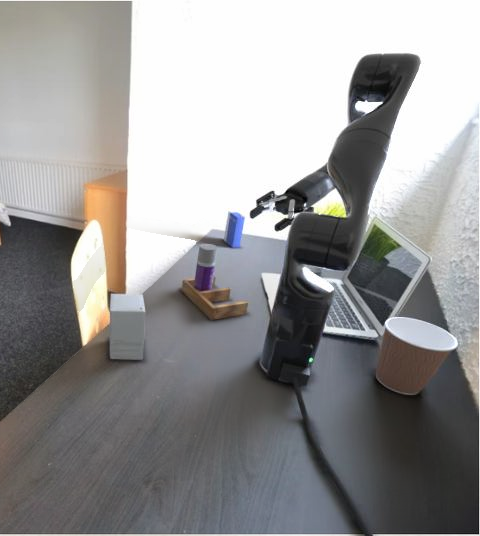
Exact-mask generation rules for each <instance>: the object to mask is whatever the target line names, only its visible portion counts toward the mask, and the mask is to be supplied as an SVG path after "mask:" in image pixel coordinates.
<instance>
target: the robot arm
mask: <svg viewBox="0 0 480 536" xmlns="http://www.w3.org/2000/svg"><path fill="white" fill-rule="evenodd" d="M421 67H422V59H421V57H420V56H419V55H418V54H416V53H415V54H414V53H411V52H410V53H409V52H402V53H401V52H393V53H392V52H391V53H389V52H388V53H370V54H365V55H363V56H362V57H361V58H360V59H359V60H358V61H357V63H356V65H355V67H354V69H353V72H352V74H351V77H350V81H349V85H348V89H347V101H346V102H347V105H346V108H347V109H346V112H347V114H346V115H347V116H346V117H347V118H346V119H347V120H346V121H347V123H346V124H347V125H346V126H345V127H344V128H343V129H342V130H341V131H340V133H339V134H338V135H337V137H336V138H335V140H334V143H333V145H332V148H331V150H330V153H329V156H328V158H327V162H325V163H324V164H323V165H322V166H321V167H319V168H317V169H316V170H315V171H313V172H311V173H309V174H307V175H305V176H304V177H303V178H301V179H299V180H298V181H297V182H295V183H294V184H292V185H291V186H289V187H288V188H287V189H286V190H285V191H284V192H283V193H281V194H276V191H275V190H270V191H269V192H267V193H265V194H263V195H262V196H260V197H259V198H257V199H256V200H255V206H256V207H254V208H253V209H251V210H250V211H249V218H250V219H251V220H254V219H255V218H257V217H258V216H259V215H261V214H263V213H264V212H270V213H271V212H277V213H280V214H282V215H283V216H287V217H284V218H283V219H281V220H279V221H278V222H277V223H275V224H274V231H275V232H277V233H278V232H281V231H284V230H285V229H286V228H287V227H289V230H288V233H287V236H286V237H287V238H286V243H285V250H284V255H283V260H282V266H281V270H280V275H279V279H278V285H277V288H276V292H275V297H274V300H273V303H272V304H273V305H272V309H271V313H270V317H269V321H268V326H267V329H266V334H265V338H264V342H263V346H262V347H263V348H262V351H261V356H260V357H259V361H258V363H259V364H258V365H259V367H260V369H261V370H262V371H263V373H264V374H266V378H267V379H270V380H274V381H278V382H282V383H285V384H288V385H293V389H294V394H295V397H296V400H297V404H298V407H299V410H300V414H301V416H302V420H303V423H304V426H305V429H306V432H307V435H308V437H309V440H310V442H311V445H312V447H313V449H314V451H315V453H316V456H317V457H318V459H319V460H320V462H321V463H320V464H321V465H322V466H323V467H324V469H325V472H327V474H328V476H329V478H330V479H331V481H332V482H333V484H334V486H335V487H336V488H337V490H338V492H339V494H340V496H341V498H342V499H343V501H344V502H345V504H346V506H347V507H348V509H349V511H350V513H351V514H352V515H353V519H355V521H356V523H357V525H358V526H359V528H360V530H361V532H362V534H363V535H364V536H374V534H373V533H372V530H371V529H370V527H369V526H368V524H367V523H366V521H365V519H364V517H363V516H362V514H361V512H360V510H359V509H358V507H357V505H356V503H355V502H354V501H353V499H352V498H351V495H350V494H349V492H348V491H347V489H346V487H345V485H344V484H343V482H342V481H341V479H340V478H339V476H338V475H337V473H336V472H335V470H334V468H333V467H332V465H331V464H330V462H329V461H328V459H327V457H326V455H325V454H324V451H323V450H322V447H321V446H320V444H319V442H318V439H317V436H316V434H315V432H314V429H313V426H312V423H311V419H310V417H309V414H308V411H307V407H306V404H305V400H304V398H303V394H302V390H301V387H302V386H304V387H307V386H308V383H309V381H310V377H311V374H312V373H311V372H312V369H313V367H314V366H313V365H314V362H315V359H316V356H317V353H318V349H319V346H320V343H321V340H322V337H323V333H324V332H325V331H324V330H325V328H326V325H327V321H328V318H329V316H330V311H331V310H332V306H333V302H334V300H335V296H336V290H335V288H334V286H333V285H332V284H331V283H330V282H329V281H327V280H326V279H324V278H323V277H321V276H319V275H318V274H316V273H314V272H313V271H312V270H311V269H310V268H309V267H314V268H318V269H324V270H327V271H333V272H339V273H344V272H347V271H349V270H351V269H352V268H353V266H354V265H355V264H356V262H357V260H358V258H359V255H360V253H361V250H362V247H363V243H364V239H365V236H366V231H367V228H368V223H369V220H370V215H371V212H372V207H373V204H374V201H375V197H376V194H377V191H378V188H379V186H380V183H381V181H382V178H383V175H384V173H385V170H386V167H387V165H388V163H389V160H390V157H391V153H392V152H393V151H392V150H393V147H394V144H395V139H396V137H397V132H398V128H399V127H400V126H399V125H400V122H401V119H402V117H403V114H404V112H405V109H406V107H407V104H408V103H409V100H410V98H411V96H412V93H413V91H414V89H415V86H416V84H417V81H418V78H419V76H420V73H421V69H422V68H421ZM370 104H379V105H378V106H376V107H374V108H373V107H372V106H371V105H370ZM334 190H336V191H337V193H338V195H339V196H340V198H341V201H342V203H343V207H344V212H345V216H339V215H332V214H326V213H319V212H315V207H314V205H316V204H317V203H319V202H320V201H321V200H323V199H324V198H326V196H328V195H329V194H330V193H331V192H332V191H334ZM273 204H274V206H273ZM308 266H309V267H308Z"/></svg>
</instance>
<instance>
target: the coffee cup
mask: <svg viewBox="0 0 480 536" xmlns="http://www.w3.org/2000/svg"><path fill="white" fill-rule="evenodd" d="M384 327H385V328H384V333H383V336H382V341H381V346H380V349H379V350H380V351H379V355H378V358H377V364H376V368H375V377H376V379H377V381H378V382H379V383H380V384H381V385H382V386H383V387H385V388H387V389H389V390H390V391H392V392H395V393H398V394H402V395H407V396H415V395H418V394H419V393H420V392H421V390H423V389H424V388H426V385H427V384H428V383H429V382H430V380H431V379H432V378H433V377H434V376H435V375H436V374H437V372H438V371H439V370H440V368H441V366H442V365H443V363H444V362H445V361H446V359H447V358H448V356H449V355H450V354H451V353H452V352H453V350H455V349H457V348H458V345H459V344H458V343H459V342H458V340H457V339H456V337H455V336H454V335H452V333H450V332H448V331H447V330H446V329H444V328H442V327H440V326H438V325H435V324H433V323H430V322H428V321H424V320H420V319H416V318H413V317H403V316H394V317H390V318H388V319H386V320H385V321H384Z"/></svg>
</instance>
